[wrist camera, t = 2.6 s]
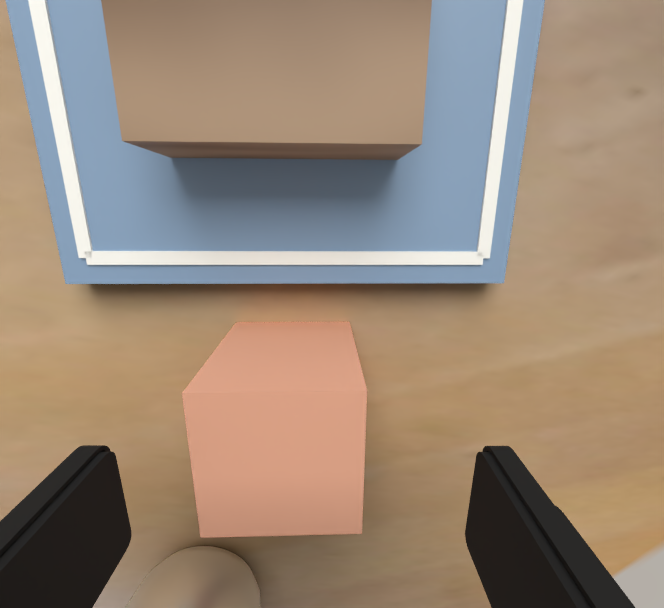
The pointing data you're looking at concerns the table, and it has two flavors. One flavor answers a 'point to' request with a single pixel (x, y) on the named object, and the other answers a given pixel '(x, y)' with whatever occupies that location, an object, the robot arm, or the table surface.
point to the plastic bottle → (198, 581)
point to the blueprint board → (284, 169)
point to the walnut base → (270, 77)
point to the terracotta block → (279, 431)
